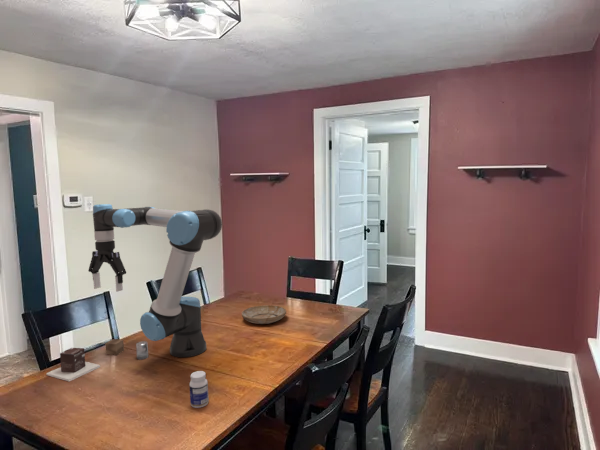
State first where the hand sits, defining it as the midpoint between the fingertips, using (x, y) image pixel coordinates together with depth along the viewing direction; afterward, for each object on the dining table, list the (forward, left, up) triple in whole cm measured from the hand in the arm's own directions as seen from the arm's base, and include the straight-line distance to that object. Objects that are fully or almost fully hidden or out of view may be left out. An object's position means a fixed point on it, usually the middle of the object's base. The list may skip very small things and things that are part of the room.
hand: (108, 289), depth 176 cm
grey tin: (-19, +1, -27) cm, 33 cm away
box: (-4, +21, -26) cm, 34 cm away
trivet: (-4, +21, -27) cm, 34 cm away
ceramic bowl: (-42, -59, -27) cm, 77 cm away
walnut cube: (-4, +2, -27) cm, 27 cm away
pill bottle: (-65, +21, -27) cm, 73 cm away
